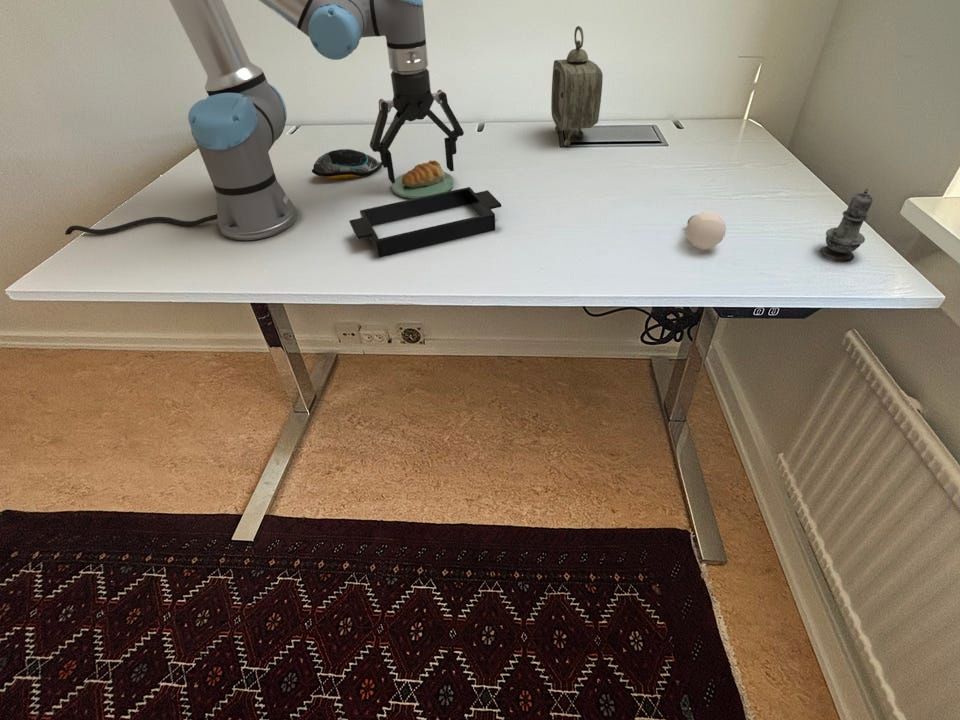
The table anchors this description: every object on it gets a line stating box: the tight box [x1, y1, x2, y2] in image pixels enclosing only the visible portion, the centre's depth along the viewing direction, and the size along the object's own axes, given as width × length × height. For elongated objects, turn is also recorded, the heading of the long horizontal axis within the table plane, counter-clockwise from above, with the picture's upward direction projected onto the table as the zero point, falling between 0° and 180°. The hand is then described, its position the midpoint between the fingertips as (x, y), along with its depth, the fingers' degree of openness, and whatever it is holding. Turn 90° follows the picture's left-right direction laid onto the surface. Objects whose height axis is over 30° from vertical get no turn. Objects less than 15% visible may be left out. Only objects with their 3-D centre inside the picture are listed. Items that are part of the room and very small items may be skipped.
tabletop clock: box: [550, 25, 604, 147], centre depth 131 cm, size 14×9×25 cm, turn 6°
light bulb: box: [685, 211, 727, 250], centre depth 97 cm, size 7×7×11 cm
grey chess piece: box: [819, 188, 874, 263], centre depth 90 cm, size 6×6×12 cm
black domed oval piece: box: [311, 148, 383, 180], centre depth 126 cm, size 9×17×6 cm, turn 116°
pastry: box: [402, 160, 445, 188], centre depth 119 cm, size 9×7×4 cm
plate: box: [391, 171, 455, 199], centre depth 121 cm, size 14×14×1 cm
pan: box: [349, 186, 502, 259], centre depth 105 cm, size 29×13×4 cm, turn 112°
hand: (421, 175), depth 119 cm, fingers open, 13 cm apart
